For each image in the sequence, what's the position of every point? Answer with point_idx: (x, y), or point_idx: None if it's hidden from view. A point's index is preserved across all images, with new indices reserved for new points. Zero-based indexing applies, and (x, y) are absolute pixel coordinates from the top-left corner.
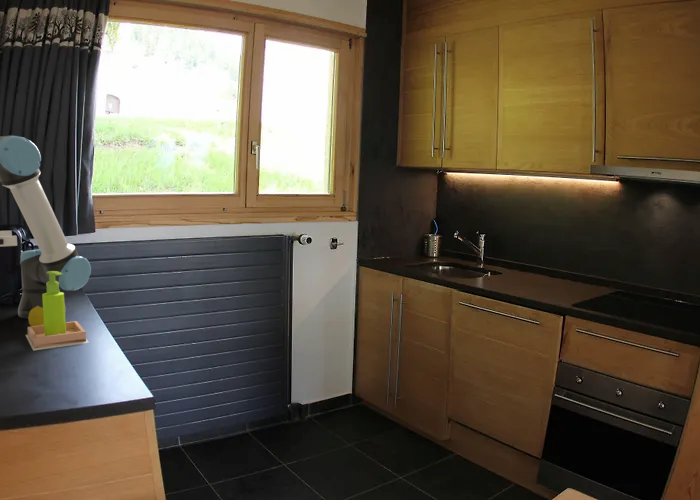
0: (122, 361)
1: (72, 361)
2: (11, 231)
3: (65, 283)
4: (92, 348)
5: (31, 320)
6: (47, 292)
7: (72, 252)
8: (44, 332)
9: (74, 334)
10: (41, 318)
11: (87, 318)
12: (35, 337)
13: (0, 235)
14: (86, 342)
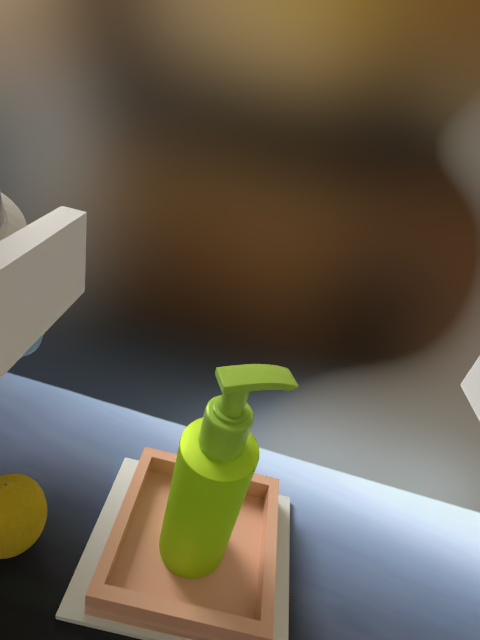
0: (458, 508)
1: (429, 602)
2: (85, 219)
3: (35, 346)
4: (326, 510)
5: (15, 547)
6: (226, 458)
7: (25, 221)
8: (119, 553)
9: (276, 509)
10: (45, 513)
11: (26, 394)
12: (266, 629)
13: (37, 293)
14: (284, 501)
